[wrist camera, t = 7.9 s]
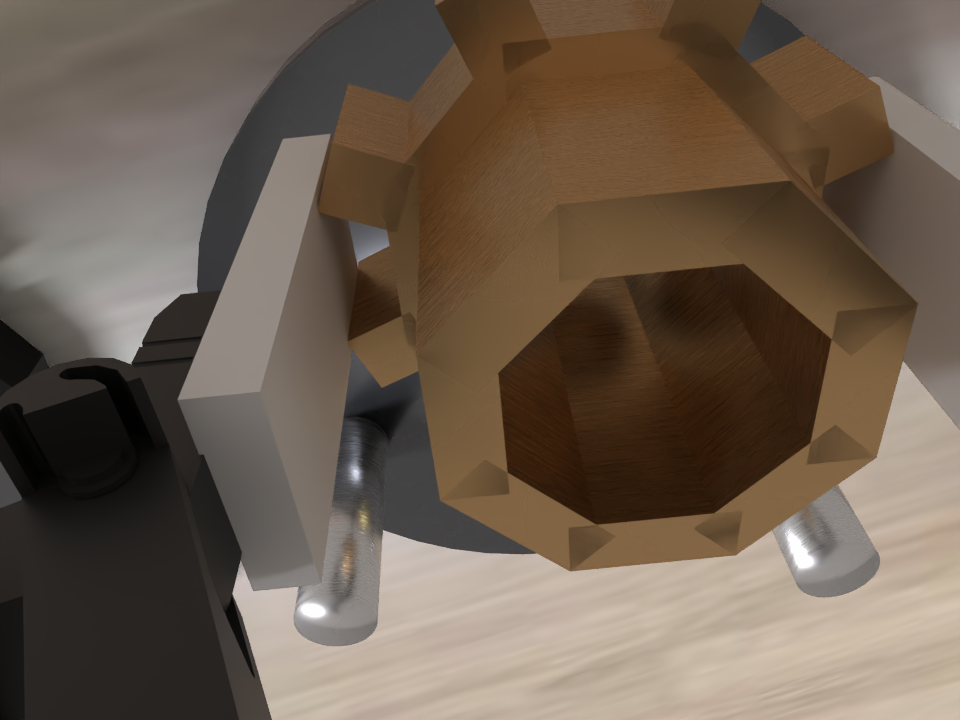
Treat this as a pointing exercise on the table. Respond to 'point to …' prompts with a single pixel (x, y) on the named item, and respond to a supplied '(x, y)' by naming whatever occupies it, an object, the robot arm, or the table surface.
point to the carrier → (399, 406)
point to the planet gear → (624, 273)
